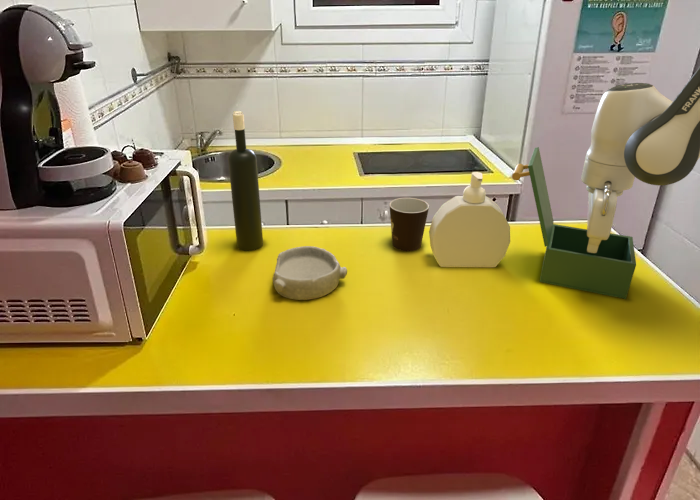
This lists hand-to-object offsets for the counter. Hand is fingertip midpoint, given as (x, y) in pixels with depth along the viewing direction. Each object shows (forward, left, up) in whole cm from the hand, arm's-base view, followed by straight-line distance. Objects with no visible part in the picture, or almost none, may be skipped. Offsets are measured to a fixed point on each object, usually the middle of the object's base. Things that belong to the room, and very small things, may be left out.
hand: (591, 241), depth 102 cm
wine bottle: (+69, +16, -8) cm, 71 cm away
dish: (+50, +25, -8) cm, 57 cm away
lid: (+10, 0, +8) cm, 13 cm away
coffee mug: (+37, 0, -8) cm, 38 cm away
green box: (0, 0, -8) cm, 8 cm away
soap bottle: (+23, +4, -8) cm, 25 cm away
